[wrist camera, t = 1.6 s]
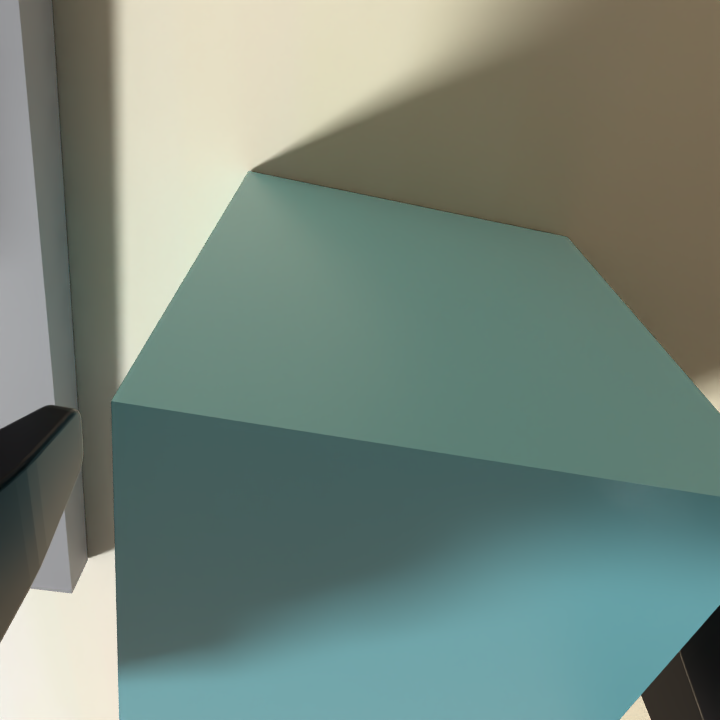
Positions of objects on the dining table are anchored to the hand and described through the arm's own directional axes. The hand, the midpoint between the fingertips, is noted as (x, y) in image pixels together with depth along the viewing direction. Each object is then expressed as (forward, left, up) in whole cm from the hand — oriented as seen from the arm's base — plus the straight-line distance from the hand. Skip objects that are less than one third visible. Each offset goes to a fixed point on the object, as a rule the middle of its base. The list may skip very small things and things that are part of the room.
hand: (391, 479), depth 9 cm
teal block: (0, 0, -4) cm, 4 cm away
